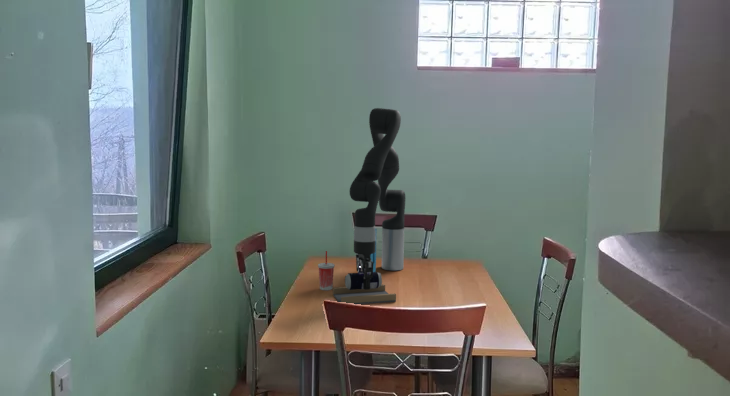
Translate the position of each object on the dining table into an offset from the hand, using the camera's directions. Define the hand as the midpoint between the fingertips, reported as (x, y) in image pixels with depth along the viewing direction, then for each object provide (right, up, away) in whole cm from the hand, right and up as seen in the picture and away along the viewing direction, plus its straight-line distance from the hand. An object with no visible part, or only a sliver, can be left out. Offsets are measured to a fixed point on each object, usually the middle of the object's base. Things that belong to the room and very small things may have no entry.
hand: (364, 286), depth 211 cm
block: (+1, -2, +22) cm, 22 cm away
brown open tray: (0, -4, +1) cm, 4 cm away
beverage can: (-6, +2, -2) cm, 7 cm away
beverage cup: (-14, -3, +13) cm, 19 cm away
